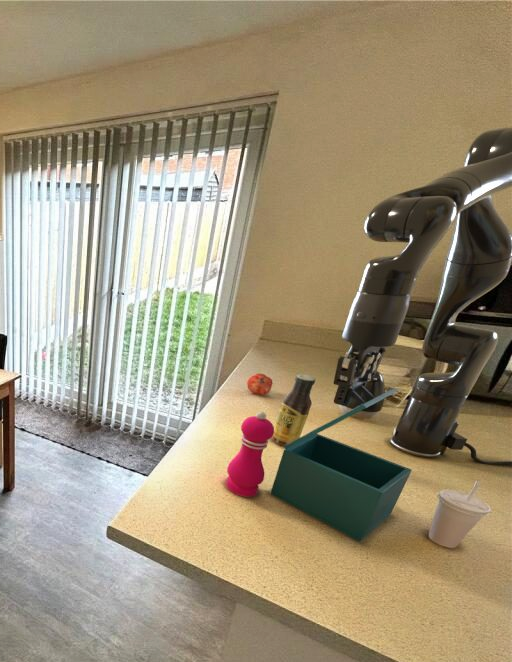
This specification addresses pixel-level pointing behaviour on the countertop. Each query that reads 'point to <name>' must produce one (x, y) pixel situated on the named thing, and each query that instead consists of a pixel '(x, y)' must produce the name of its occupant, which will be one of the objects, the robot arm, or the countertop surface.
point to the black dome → (375, 389)
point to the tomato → (259, 384)
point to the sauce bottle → (293, 411)
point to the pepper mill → (250, 456)
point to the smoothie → (456, 516)
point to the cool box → (339, 484)
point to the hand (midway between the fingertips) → (347, 400)
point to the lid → (348, 414)
